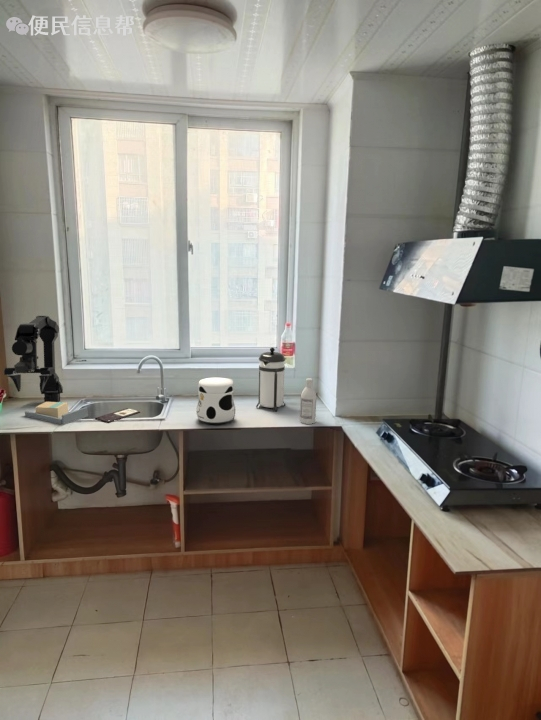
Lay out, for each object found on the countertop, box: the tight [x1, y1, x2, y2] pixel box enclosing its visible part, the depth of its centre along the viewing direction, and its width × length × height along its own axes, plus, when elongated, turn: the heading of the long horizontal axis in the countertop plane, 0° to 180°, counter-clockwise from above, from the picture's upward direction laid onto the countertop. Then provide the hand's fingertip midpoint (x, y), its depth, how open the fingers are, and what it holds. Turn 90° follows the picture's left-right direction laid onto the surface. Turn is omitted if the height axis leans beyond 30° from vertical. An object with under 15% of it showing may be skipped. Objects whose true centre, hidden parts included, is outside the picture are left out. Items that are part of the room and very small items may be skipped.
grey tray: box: [24, 406, 89, 426], centre depth 204 cm, size 13×24×6 cm, turn 65°
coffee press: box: [255, 347, 286, 412], centre depth 228 cm, size 17×16×30 cm
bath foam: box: [299, 377, 317, 425], centre depth 208 cm, size 7×7×20 cm
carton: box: [35, 401, 69, 418], centre depth 206 cm, size 8×10×5 cm
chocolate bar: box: [94, 408, 141, 424], centre depth 211 cm, size 9×1×18 cm
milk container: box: [196, 377, 236, 425], centre depth 207 cm, size 17×17×18 cm
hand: (30, 391), depth 195 cm, fingers open, 9 cm apart
